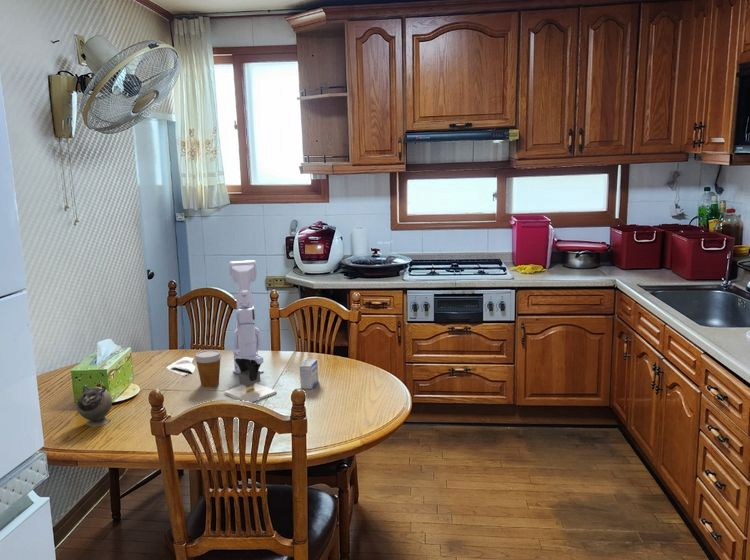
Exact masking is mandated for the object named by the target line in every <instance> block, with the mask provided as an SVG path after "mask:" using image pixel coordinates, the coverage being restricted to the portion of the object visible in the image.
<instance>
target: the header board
mask: <svg viewBox="0 0 750 560" xmlns="http://www.w3.org/2000/svg"><path fill="white" fill-rule="evenodd" d="M275 393H276V394H277V390H275V389H272V388H270V387H266V386H265V385H262V384H260V383H255V384H252V385H249V386H244V385H242V384H240V385H238V386H235V387H233V388H230V389H227V390H225V391H224V395H226V396H229V397H231V398H234V399H235V400H238V401H240V400H244V401H249V402H253V401H256V400H258V399H261V398H264V397H266V398H268V396H269V397H271V396H273V395H272V394H274V395H276V394H275ZM270 395H271V396H270ZM264 399H265V398H264ZM261 400H262V399H261ZM258 401H259V400H258ZM256 402H257V401H256ZM253 403H254V402H253Z"/></svg>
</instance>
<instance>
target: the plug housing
mask: <svg viewBox="0 0 750 560" xmlns="http://www.w3.org/2000/svg"><path fill="white" fill-rule="evenodd" d="M238 378H239V380H238V381H239V385H244V386H249V385H252V384H255V383H257V384H259V383H260V382H261V373H260V371H259V370H258V374H257V379H256V380H254V381H251V380H250V376H249V370H246V371H243V372H240V373H239V374H238Z"/></svg>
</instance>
